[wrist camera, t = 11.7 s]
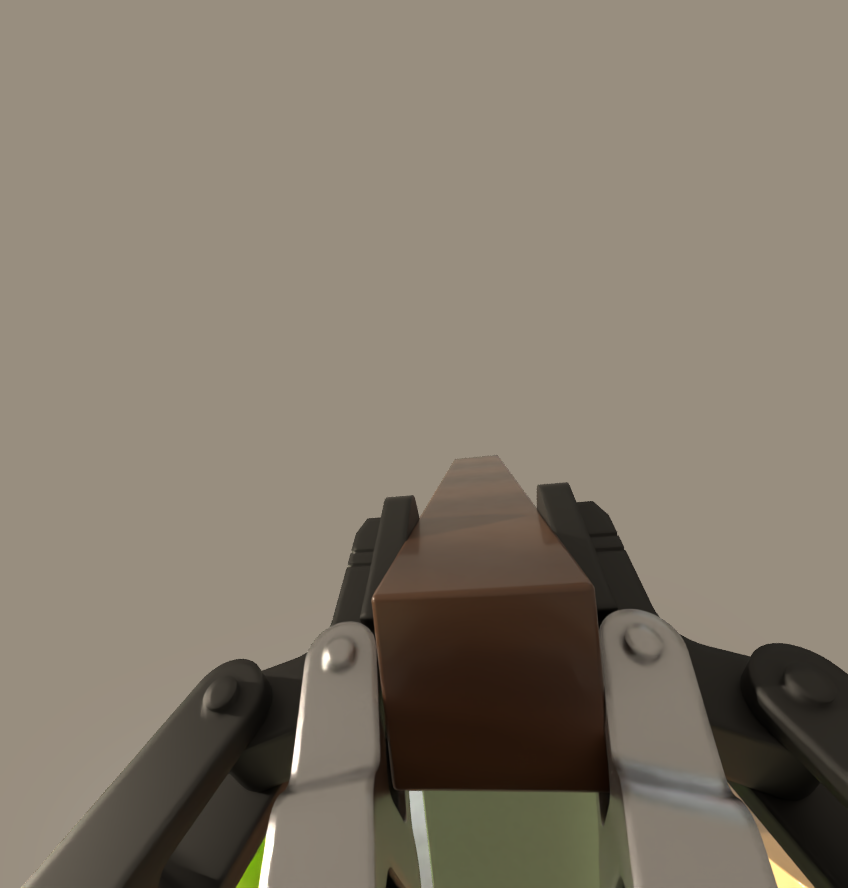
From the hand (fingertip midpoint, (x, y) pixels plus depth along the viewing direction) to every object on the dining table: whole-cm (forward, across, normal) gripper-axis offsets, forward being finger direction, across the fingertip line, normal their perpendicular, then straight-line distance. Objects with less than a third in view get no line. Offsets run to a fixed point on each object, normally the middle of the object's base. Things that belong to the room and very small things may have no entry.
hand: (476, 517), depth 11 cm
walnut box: (+5, 0, +6) cm, 8 cm away
